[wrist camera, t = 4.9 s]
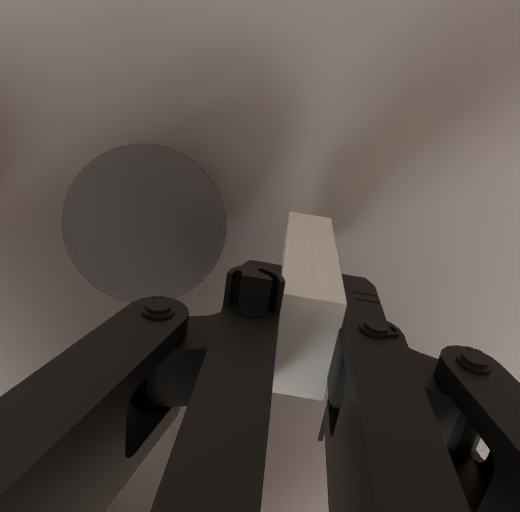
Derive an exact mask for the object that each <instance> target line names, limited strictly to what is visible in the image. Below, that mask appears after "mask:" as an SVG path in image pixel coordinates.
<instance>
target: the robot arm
mask: <svg viewBox="0 0 520 512" xmlns="http://www.w3.org/2000/svg"><path fill="white" fill-rule="evenodd" d="M188 316H189V313H188V308H187V307H186V306H185V305H184V304H183V303H182V302H180V301H177V300H175V299H173V298H167V297H165V296H150V297H146V298H141V299H138V300H136V301H134V302H132V303H130V304H129V305H128V306H126V307H125V308H124V309H122V310H121V311H119V312H118V313H117V314H115V315H114V316H112V317H111V318H110V319H108V320H107V321H105V322H104V323H103V324H101V325H100V326H98V327H97V328H96V329H94V330H93V331H91V332H90V333H89V334H87V335H86V336H84V337H83V338H82V339H80V340H79V341H78V342H76V343H75V344H73V345H72V346H71V347H69V348H68V349H66V350H65V351H64V352H62V353H61V354H59V355H58V356H57V357H55V358H54V359H52V360H51V361H50V362H48V363H47V364H45V365H44V366H43V367H41V368H40V369H38V370H37V371H36V372H34V373H33V374H32V375H30V376H29V377H27V378H26V379H25V380H23V381H22V382H20V383H19V384H18V385H16V386H15V387H13V388H12V389H11V390H9V391H8V392H6V393H5V394H4V395H2V396H1V397H0V512H104V511H105V510H106V508H107V507H108V506H109V505H110V503H111V502H112V501H113V499H114V498H115V497H116V495H117V494H118V493H119V491H120V490H121V489H122V487H123V486H124V485H125V483H126V482H127V481H128V480H129V478H130V477H131V476H132V474H133V473H134V472H135V470H136V469H137V468H138V466H139V465H140V464H141V462H142V461H143V460H144V458H145V457H146V456H147V455H148V453H149V452H150V451H151V449H152V448H153V447H154V445H155V444H156V443H157V441H158V440H159V439H160V437H161V436H162V435H163V434H164V432H165V431H166V430H167V428H168V427H169V426H170V424H171V423H172V422H173V420H174V419H175V418H176V416H177V414H178V412H179V410H180V406H187V409H186V412H185V415H184V417H183V420H182V423H181V426H180V429H179V432H178V434H177V437H176V440H175V443H174V446H173V449H172V451H171V454H170V457H169V460H168V463H167V466H166V469H165V471H164V474H163V477H162V480H161V483H160V486H159V488H158V491H157V494H156V497H155V500H154V503H153V505H152V508H151V511H150V512H260V509H261V499H262V489H263V479H264V469H265V458H266V448H267V438H268V428H269V418H270V408H271V398H272V392H273V393H279V394H285V395H290V396H296V397H302V398H307V399H313V400H319V401H323V400H324V396H325V392H326V388H327V387H328V401H327V405H326V409H325V413H324V417H323V421H322V425H321V429H320V433H319V437H318V441H322V440H323V437H324V434H325V447H326V466H327V485H328V504H329V512H520V383H519V382H518V381H517V380H516V379H515V378H514V377H513V376H512V375H511V374H510V373H509V372H508V371H507V370H506V369H505V368H504V367H503V366H502V365H501V364H500V363H498V362H497V361H496V360H494V359H493V358H492V357H490V356H488V355H486V354H484V353H483V352H482V351H480V350H477V349H473V348H471V347H467V346H466V347H464V346H457V345H455V346H447V347H445V348H444V349H442V351H441V353H440V356H439V359H436V358H433V357H430V356H428V355H425V354H422V353H419V352H417V351H414V350H412V349H410V348H409V347H408V344H407V342H406V339H405V337H404V335H403V333H402V332H401V330H400V329H399V328H397V327H396V326H395V325H393V324H392V323H390V322H388V321H386V318H385V315H384V312H383V309H382V306H381V304H380V300H379V297H378V294H377V291H376V288H375V286H374V285H373V284H372V283H370V282H369V281H368V280H367V279H366V278H362V277H356V276H350V275H344V274H341V269H340V264H339V259H338V253H337V248H336V243H335V237H334V232H333V227H332V221H331V218H327V217H321V216H315V215H309V214H303V213H297V212H289V218H288V224H287V230H286V235H285V241H284V247H283V253H282V258H281V264H280V265H277V264H271V263H265V262H259V261H253V260H249V261H248V262H246V263H244V264H243V265H241V266H237V267H234V268H231V269H230V270H229V271H228V272H227V278H226V286H225V294H224V302H223V307H222V310H221V312H219V313H216V314H213V315H208V316H191V317H188ZM481 438H482V440H483V441H484V442H485V444H486V445H487V446H488V448H489V450H490V452H489V454H488V456H487V458H486V460H485V461H484V460H483V459H482V458H481V456H480V455H479V454H478V452H477V451H476V448H477V446H478V443H479V441H480V439H481Z"/></svg>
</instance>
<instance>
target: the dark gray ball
mask: <svg viewBox="0 0 520 512" xmlns="http://www.w3.org/2000/svg"><path fill="white" fill-rule="evenodd" d="M62 232H63V237H64V242H65V245H66V248H67V250H68V253H69V256H70V258H71V259H72V261H73V263H74V265H75V266H76V268H77V269H78V270H79V272H80V273H81V274H82V275H83V276H84V277H85V278H86V279H87V280H88V281H89V282H90V283H91V284H92V285H94V286H95V287H96V288H98V289H99V290H101V291H102V292H104V293H106V294H108V295H110V296H113V297H115V298H118V299H121V300H124V301H129V302H134V301H136V300H138V299H141V298H146V297H150V296H165V297H167V298H176V297H179V296H181V295H183V294H185V293H187V292H188V291H190V290H191V289H193V288H194V287H195V286H197V285H198V284H199V283H200V282H201V281H202V280H203V279H204V278H205V277H206V276H207V275H208V274H209V273H210V271H211V270H212V269H213V267H214V266H215V264H216V262H217V260H218V258H219V256H220V254H221V251H222V248H223V244H224V240H225V234H226V215H225V209H224V205H223V202H222V199H221V196H220V194H219V192H218V190H217V188H216V186H215V184H214V182H213V181H212V179H211V178H210V176H209V175H208V174H207V173H206V172H205V171H204V170H203V169H202V168H201V167H200V166H199V165H198V164H197V163H196V162H194V161H193V160H192V159H190V158H189V157H187V156H186V155H184V154H182V153H180V152H178V151H176V150H173V149H170V148H167V147H164V146H159V145H153V144H132V145H127V146H122V147H118V148H115V149H112V150H110V151H108V152H106V153H104V154H102V155H100V156H99V157H97V158H95V159H94V160H92V161H91V162H90V163H89V164H88V165H87V166H86V167H85V168H84V169H83V170H82V171H81V172H80V173H79V175H78V176H77V177H76V179H75V180H74V182H73V184H72V185H71V187H70V189H69V191H68V194H67V196H66V199H65V203H64V207H63V215H62Z"/></svg>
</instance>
